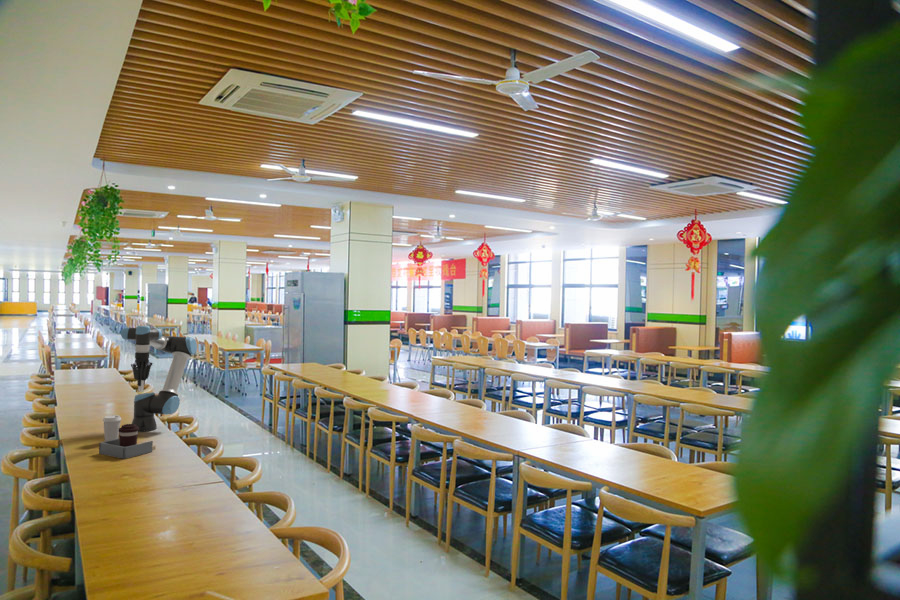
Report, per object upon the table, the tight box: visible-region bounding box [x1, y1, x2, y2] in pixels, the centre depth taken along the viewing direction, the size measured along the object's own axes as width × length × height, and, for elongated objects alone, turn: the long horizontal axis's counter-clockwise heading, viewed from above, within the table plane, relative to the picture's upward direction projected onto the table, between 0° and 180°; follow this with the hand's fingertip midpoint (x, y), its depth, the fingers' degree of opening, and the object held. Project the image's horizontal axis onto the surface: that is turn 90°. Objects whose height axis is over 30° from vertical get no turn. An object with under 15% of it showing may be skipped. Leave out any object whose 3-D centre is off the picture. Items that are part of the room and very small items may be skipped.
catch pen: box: [98, 438, 154, 460], centre depth 317 cm, size 17×20×6 cm
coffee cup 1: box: [102, 414, 122, 442], centre depth 337 cm, size 10×10×15 cm
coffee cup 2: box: [118, 423, 139, 447], centre depth 318 cm, size 10×10×15 cm
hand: (140, 391), depth 344 cm, fingers closed
